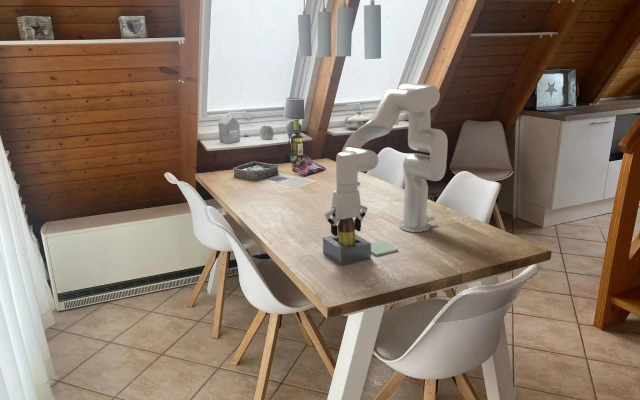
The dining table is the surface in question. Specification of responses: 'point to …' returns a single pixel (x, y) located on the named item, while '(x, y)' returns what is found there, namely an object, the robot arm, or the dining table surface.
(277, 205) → the dining table surface
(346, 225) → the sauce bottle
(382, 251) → the mat
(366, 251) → the collar
